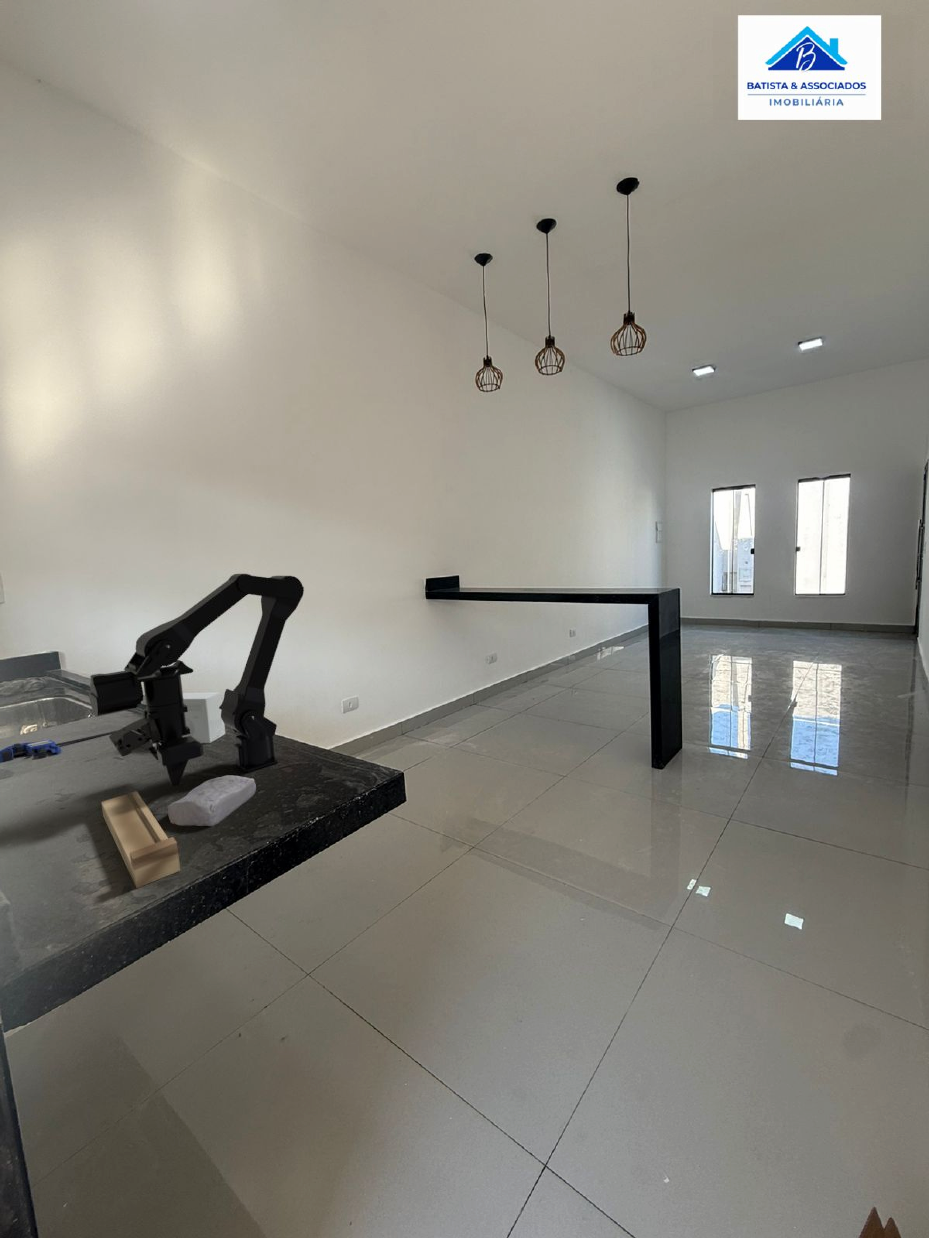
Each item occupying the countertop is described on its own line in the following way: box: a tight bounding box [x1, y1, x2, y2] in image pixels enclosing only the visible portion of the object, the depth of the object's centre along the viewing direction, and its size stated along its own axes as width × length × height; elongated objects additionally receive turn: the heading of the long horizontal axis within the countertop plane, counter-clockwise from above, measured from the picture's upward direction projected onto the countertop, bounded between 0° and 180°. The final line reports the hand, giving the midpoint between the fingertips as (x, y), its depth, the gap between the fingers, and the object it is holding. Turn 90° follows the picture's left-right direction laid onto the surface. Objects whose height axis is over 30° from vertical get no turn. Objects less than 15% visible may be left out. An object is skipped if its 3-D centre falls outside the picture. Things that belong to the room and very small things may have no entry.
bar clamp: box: [0, 729, 119, 763], centre depth 120 cm, size 32×2×10 cm
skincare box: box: [182, 692, 226, 744], centre depth 117 cm, size 10×6×10 cm, turn 83°
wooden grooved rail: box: [100, 791, 181, 889], centre depth 75 cm, size 5×26×4 cm, turn 43°
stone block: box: [167, 774, 257, 827], centre depth 84 cm, size 12×5×10 cm
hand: (175, 785), depth 91 cm, fingers closed
